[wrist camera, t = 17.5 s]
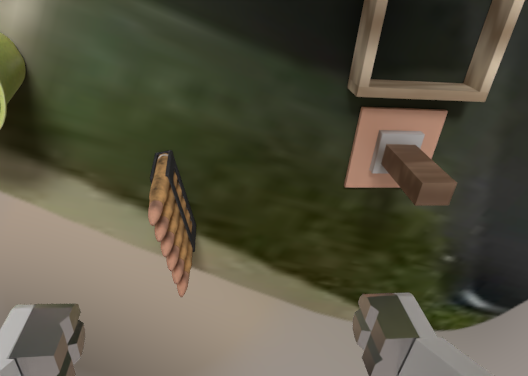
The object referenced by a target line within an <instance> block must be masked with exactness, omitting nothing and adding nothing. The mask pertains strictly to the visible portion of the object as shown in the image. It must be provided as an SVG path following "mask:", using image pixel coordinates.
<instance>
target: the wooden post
mask: <svg viewBox="0 0 528 376" xmlns="http://www.w3.org/2000/svg"><path fill="white" fill-rule="evenodd" d="M424 136H425V134H424V133H422V132H421V131H398V130H379V133H378V137H377V141H376V145H375V149H374V153H373V157H372V161H371V165H370V169H369V170H370V171H371V172H372V173H388V174H390V175H391V177H392V178H393V179H394V180H395V182H396V183H397V184H398V185H399V186H400V188H401V189H402V190H403V191H404V193H405V194H406V195H407V196H408V197H409V199H410V200H411V201H412V202H413V203H414V205H449V203H450V200H451V198H452V195H453V193H454V190H455V188H456V185H457V182H455V181H454V180H453V179H452V178H451V177H450V176H449V175H448V174H447V173H446V172H445V171H443V170H442V169H441V168H440V167H439V166H438V165H437V164H436V163H435V162H434V161H433V160H432V159H430V158H429V157H428V156H427V155H426V154H425V153H424V152H423V151H422V150H421V149H420V148H421V145H422V142H423V139H424Z"/></svg>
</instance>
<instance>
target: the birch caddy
mask: <svg viewBox="0 0 528 376" xmlns="http://www.w3.org/2000/svg"><path fill="white" fill-rule="evenodd" d="M524 1H525V0H492V3H491V6H490V9H489V11H488V14H487V17H486V20H485V23H484V26H483V28H482V31H481V34H480V37H479V40H478V43H477V45H476V48H475V51H474V54H473V57H472V60H471V62H470V65H469V68H468V71H467V74H466V77H465V79H464V82H463V83H442V82H421V81H399V80H378V79H371V74H372V70H373V65H374V61H375V56H376V52H377V47H378V43H379V38H380V34H381V29H382V25H383V21H384V16H385V12H386V7H387V3H388V0H364V4H363V9H362V14H361V20H360V25H359V30H358V35H357V40H356V45H355V50H354V55H353V61H352V66H351V71H350V76H349V81H348V86H347V88H348V89H349V90H350V91H351V92H352V93H353V94H354V95H355V96H356V97H375V98H400V99H425V100H450V101H476V102H485V100H486V98H487V95H488V93H489V90H490V87H491V85H492V82H493V80H494V77H495V75H496V72H497V70H498V67H499V65H500V62H501V59H502V57H503V54H504V52H505V49H506V47H507V44H508V42H509V39H510V36H511V34H512V31H513V29H514V26H515V24H516V21H517V19H518V16H519V14H520V11H521V8H522V6H523V3H524Z"/></svg>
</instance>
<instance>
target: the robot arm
mask: <svg viewBox="0 0 528 376" xmlns="http://www.w3.org/2000/svg"><path fill="white" fill-rule="evenodd" d="M358 304H359V306H360V309H359V310H358V311H356V312H355V314H354V318H353V332H354V337H355V340H356V342H357V344H358V345H359V346H360V347H361V348H362V349H364V353H363V356H362V359H363V361H364V364H365V367H366V369H367V372H368V375H369V376H495V375H493V374H492V373H490V372H489V371H488V370H486V369H485V368H484V367H482V366H481V365H479V364H478V363H477V362H475V361H474V360H473V359H471V358H470V357H469V356H467V355H466V354H464V353H463V352H462V351H460V350H459V349H458V348H456V347H455V346H453V345H452V344H451V343H449V342H448V341H447V340H445V339H444V338H442V337H437V335H436V334H435V332H434V330H433V328H432V327H431V325H430V323H429V322H428V320H427V318H426V317H425V315H424V313H423V311H422V310H421V308H420V306H419V305H418V303H417V301H416V300H415V298H414V296H413V295H412V294H411V293H380V294H363V295H362V296H361V297H360V299H359V302H358ZM80 313H81V312H80V308H79V305H78V304H22V305H21V304H19V305H16V306H15V307H14V308H13V309H12V310H11V311H10V313H9V315H8V316H7V319H6V320H5V322H4V324H3V326H2V327H1V329H0V376H75V375H76V373H75V369H74V366H73V365H74V364H75V363H76V362H77V361H78V360H79V359H80V358H81V355H82V352H83V348H84V342H85V328H84V323H83V322H81V321H80V320H78V319H79V316H80Z"/></svg>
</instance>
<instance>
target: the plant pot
mask: <svg viewBox="0 0 528 376" xmlns="http://www.w3.org/2000/svg"><path fill="white" fill-rule="evenodd" d="M25 72H26V70H25V62H24V60H23V58H22V56H21V55H20V53H19V51H18V50H17V48H16V47H15V45H14V43H13V42H12V41H11V40H10V39H9V38H7V37H6V36H5V35H3V34H2V33H0V129H1V128H2V126H3V124H4V122H5V119H6V114H7V104H8V102H9V101H10V100H11V98H12V97H13V95H14V94H15V93H16V91H17V90H18V89H19V87H20V86H21V84H22V82H23V81H24V78H25Z"/></svg>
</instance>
